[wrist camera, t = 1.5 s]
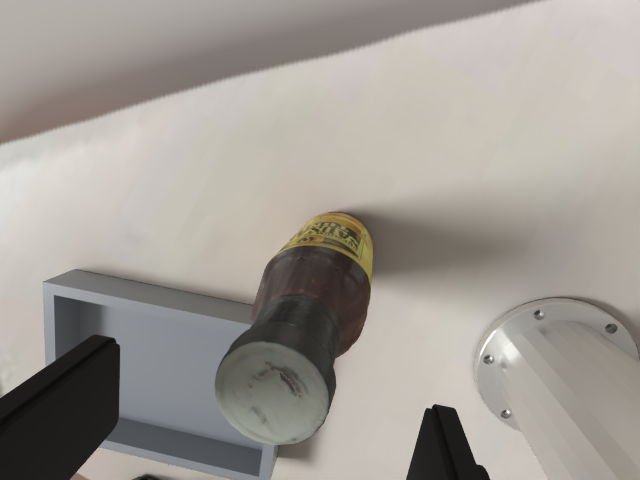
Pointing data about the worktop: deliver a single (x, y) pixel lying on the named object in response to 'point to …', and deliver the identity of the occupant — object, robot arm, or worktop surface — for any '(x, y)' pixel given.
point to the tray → (160, 368)
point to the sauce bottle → (298, 332)
